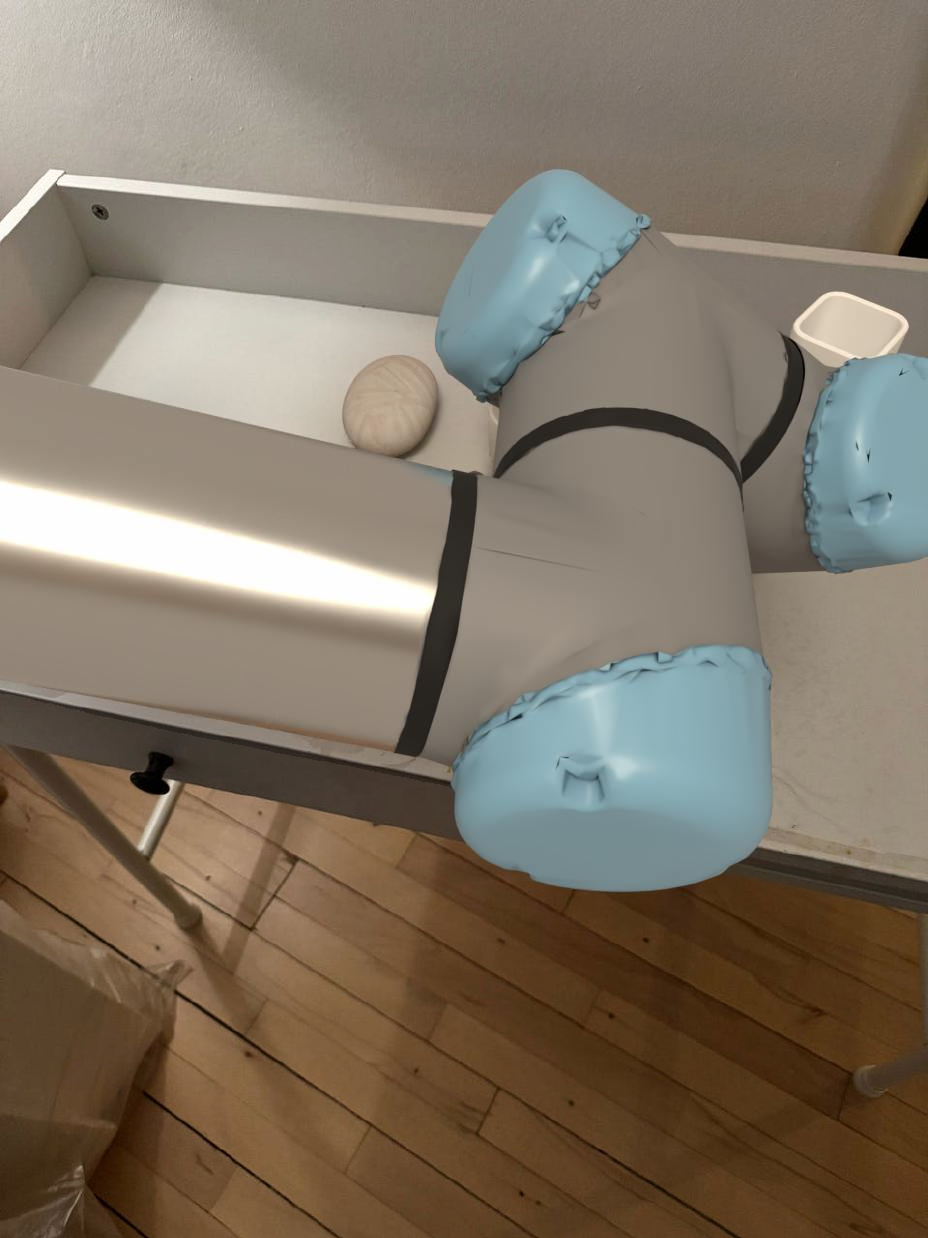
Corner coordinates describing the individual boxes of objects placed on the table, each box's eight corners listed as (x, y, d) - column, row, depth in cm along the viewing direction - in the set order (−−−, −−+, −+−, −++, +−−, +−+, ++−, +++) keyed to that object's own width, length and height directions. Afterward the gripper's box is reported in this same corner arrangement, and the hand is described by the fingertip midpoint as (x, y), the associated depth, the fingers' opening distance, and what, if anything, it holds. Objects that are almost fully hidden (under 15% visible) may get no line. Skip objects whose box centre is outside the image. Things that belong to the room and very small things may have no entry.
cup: (853, 458, 77) (917, 319, 65) (813, 503, 74) (873, 366, 62) (782, 424, 80) (831, 285, 68) (741, 466, 77) (785, 328, 65)
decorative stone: (369, 377, 86) (362, 337, 82) (453, 388, 85) (450, 347, 81) (330, 464, 79) (320, 424, 75) (420, 477, 78) (415, 437, 74)
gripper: (581, 652, 40) (397, 639, 61) (760, 493, 46) (534, 531, 67) (503, 523, 38) (340, 555, 59) (699, 372, 44) (486, 450, 65)
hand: (443, 542), depth 63 cm, fingers closed on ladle, 2 cm apart
